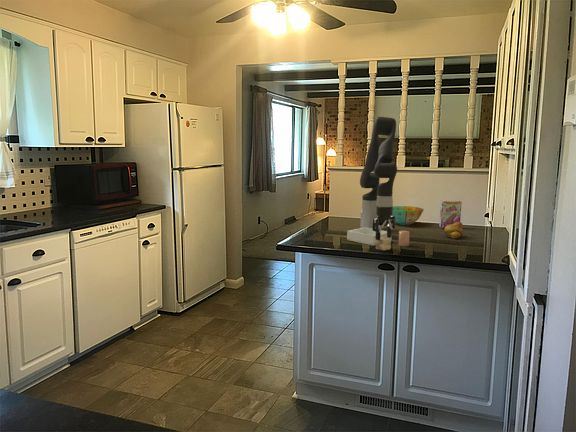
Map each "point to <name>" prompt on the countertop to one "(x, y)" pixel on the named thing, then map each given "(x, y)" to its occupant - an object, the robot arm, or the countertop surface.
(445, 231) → the bread roll
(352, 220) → the countertop surface
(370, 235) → the tote
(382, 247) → the birch cube
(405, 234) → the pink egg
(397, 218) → the bowl
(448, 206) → the candy bar box
